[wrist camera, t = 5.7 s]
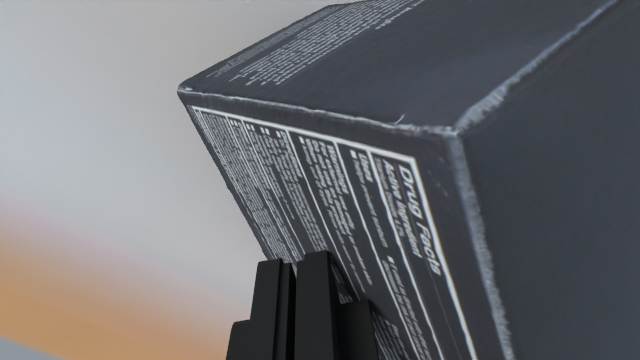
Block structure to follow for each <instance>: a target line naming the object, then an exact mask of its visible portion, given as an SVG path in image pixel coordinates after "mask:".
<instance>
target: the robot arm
mask: <svg viewBox="0 0 640 360" xmlns="http://www.w3.org/2000/svg"><path fill="white" fill-rule="evenodd" d="M226 360H380V359H379V353H378V348H377V342H376V337H375V332H374V326H373V321H372V316H371V311H370V306H369V302H368V299H366V300H361V301H355V302H349V303H343V304H341V303H340V299H339V295H338V291H337V286H336V282H335V278H334V274H333V270H332V266H331V261H330V257H329V254H328V250H322V251H316V252H311V253H305V256H304V260H300V261H297V275H296V276H295V273H294V269H293V266H292V264H291V262H289V263H284V262H283V260H282V258H277V259H272V260H266V261H261V262H259V263H258V266H257V273H256V280H255V287H254V295H253V302H252V309H251V316H250V320H244V321H238V322H235V323H234V324H233V326H232V329H231V334H230V340H229V345H228V351H227V356H226Z"/></svg>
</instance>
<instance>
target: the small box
mask: <svg viewBox="0 0 640 360" xmlns="http://www.w3.org/2000/svg"><path fill="white" fill-rule="evenodd" d="M177 94H178V96H179V98H180V100H181V101H182V103H183V105H184V106H185V108H186V110H187V112H188V114H189V116H190V118H191V120H192V122H193V124H194V125H195V127H196V129H197V131H198V133H199V135H200V136H201V138H202V140H203V142H204V144H205V146H206V147H207V150H208V151H209V153H210V154H211V156H212V158H213V160H214V162H215V164H216V166H217V167H218V169H219V171H220V173H221V175H222V177H223V179H224V180H225V182H226V185H227V188H228V189H229V190H230V192H231V193H232V195H233V197H234V199H235V200H236V202H237V204H238V206H239V208H240V210H241V212H242V213H243V215H244V217H245V218H246V220H247V222H248V224H249V226H250V228H251V229H252V231H253V234H254V235H255V237H256V239H257V240H258V242H259V244H260V246H261V248H262V251H263V253H264V255H265V256H266V258H267V259H268V260H272V259H277V258H282V260H283V262H284V263H289V262H291V264H292V266H293V269H294V273H295V276H296V275H297V261H300V260H304V256H305V253H311V252H316V251H322V250H328V254H329V257H330V261H331V266H332V270H333V274H334V278H335V282H336V286H337V291H338V295H339V299H340V303H341V304H343V303H349V302H355V301H361V300H366V299H368V302H369V306H370V311H371V316H372V321H373V326H374V332H375V337H376V342H377V348H378V353H379V359H380V360H640V0H366V1H358V2H354V3H347V4H334V5H329V6H326V7H324V8H322V9H320V10H318V11H316V12H314V13H312V14H310V15H308V16H306V17H304V18H303V19H300V20H298V21H296V22H294V23H292V24H291V25H289V26H288V27H285V28H283V29H281V30H279V31H277V32H275V33H273V34H272V35H270V36H268V37H266V38H264V39H262V40H260V41H258V42H257V43H255V44H253V45H251V46H249V47H247V48H245V49H243V50H242V51H240V52H238V53H236V54H234V55H232V56H231V57H229V58H227V59H225V60H223V61H221V62H219V63H217V64H215V65H213V66H211V67H210V68H208V69H206V70H204V71H202V72H200V73H198V74H196V75H195V76H193V77H191V78H189V79H187V80H185V81H184V82H182V83H181V84H180V85H179V86H178V90H177Z"/></svg>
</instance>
